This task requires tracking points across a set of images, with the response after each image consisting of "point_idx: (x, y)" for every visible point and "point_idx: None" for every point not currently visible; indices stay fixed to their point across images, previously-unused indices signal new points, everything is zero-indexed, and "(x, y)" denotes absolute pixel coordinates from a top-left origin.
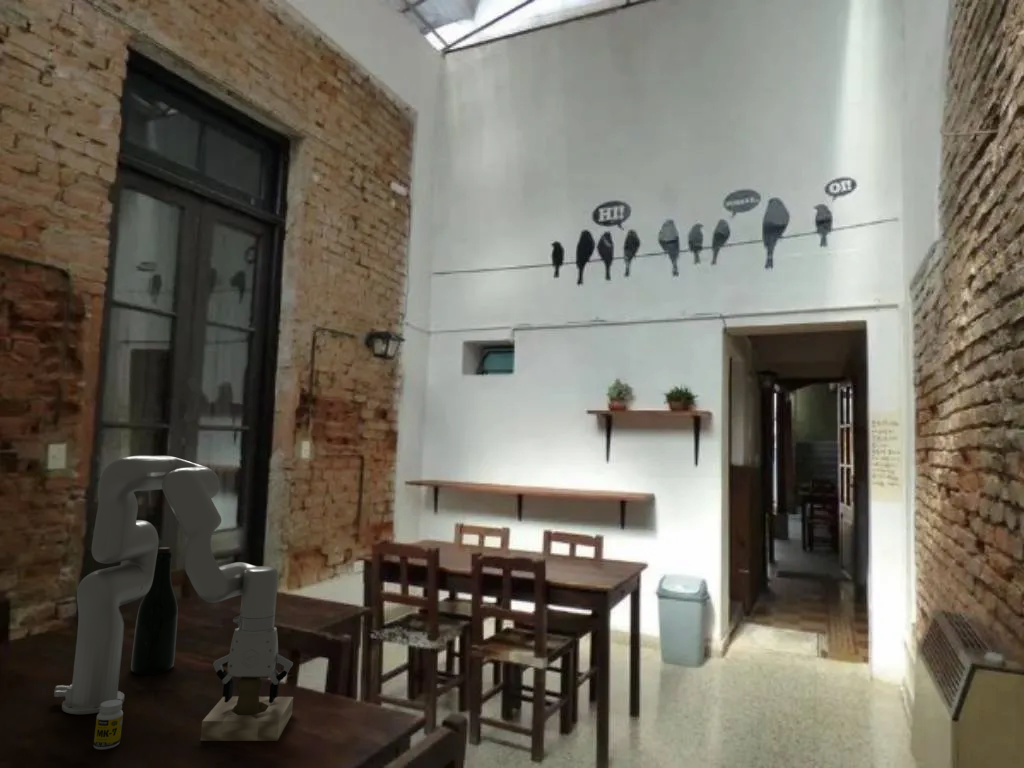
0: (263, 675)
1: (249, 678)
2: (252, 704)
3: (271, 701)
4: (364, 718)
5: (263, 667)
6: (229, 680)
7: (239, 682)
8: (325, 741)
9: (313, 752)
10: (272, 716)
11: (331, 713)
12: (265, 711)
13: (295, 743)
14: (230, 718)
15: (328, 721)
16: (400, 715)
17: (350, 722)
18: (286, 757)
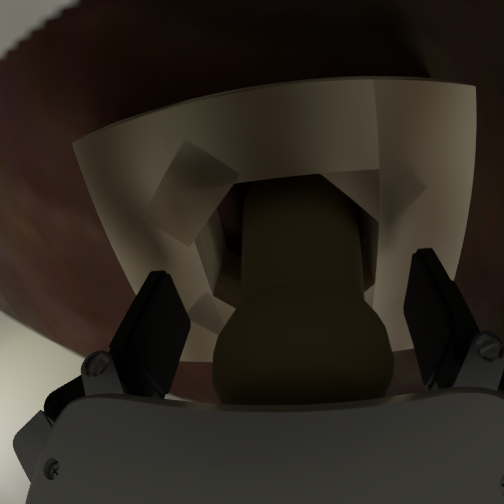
0: (110, 405)
1: (294, 402)
2: (256, 249)
3: (150, 272)
4: (32, 297)
5: (92, 479)
6: (458, 365)
7: (378, 359)
8: (12, 166)
9: (5, 94)
10: (126, 188)
11: (99, 321)
12: (191, 237)
13: (60, 124)
14: (344, 121)
15: (74, 280)
16: (5, 308)
17: (36, 278)
18: (44, 31)
